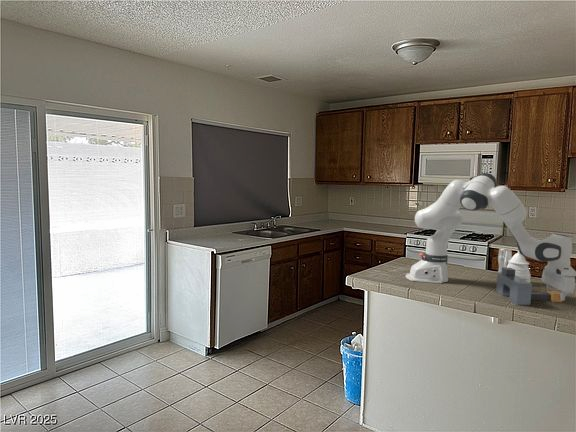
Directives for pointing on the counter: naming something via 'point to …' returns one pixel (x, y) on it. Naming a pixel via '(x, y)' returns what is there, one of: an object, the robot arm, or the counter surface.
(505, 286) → the grey block
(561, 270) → the robot arm
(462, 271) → the counter surface
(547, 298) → the plug
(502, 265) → the beer glass
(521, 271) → the honey pot
